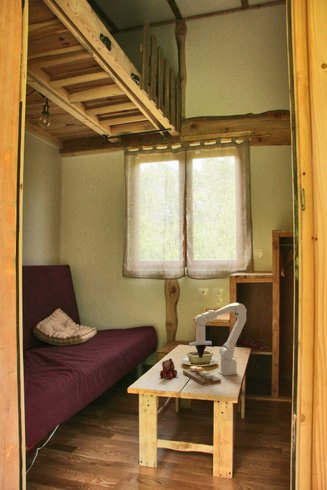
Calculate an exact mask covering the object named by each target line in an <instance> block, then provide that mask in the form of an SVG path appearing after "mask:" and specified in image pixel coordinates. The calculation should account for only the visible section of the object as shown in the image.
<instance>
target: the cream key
mask: <svg viewBox="0 0 327 490" xmlns="http://www.w3.org/2000/svg"><path fill="white" fill-rule="evenodd" d="M195 367H197V365H196V366H195V365H193V366H190V367H189V369H190V370H192V371H193V372H194V371H195Z"/></svg>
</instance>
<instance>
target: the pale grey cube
mask: <svg viewBox="0 0 327 490" xmlns="http://www.w3.org/2000/svg"><path fill="white" fill-rule="evenodd" d="M211 374H212V373H210V374H205V375H204V377H205V378H206V379H207V380H211V379H213V375H214V374H212V375H211Z"/></svg>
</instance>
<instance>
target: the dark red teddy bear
mask: <svg viewBox="0 0 327 490" xmlns="http://www.w3.org/2000/svg"><path fill="white" fill-rule="evenodd" d="M161 366H162V370H160V371H159V376H160V378H165V377H166V378H167V379H168V380H172V379H173V378H176V377H177V375H178V370H177V369H175V368H176V367H175V363H174V361H173V359H172V358H171V357H170V358H169V359H166V360H164V361H162V362H161Z"/></svg>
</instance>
